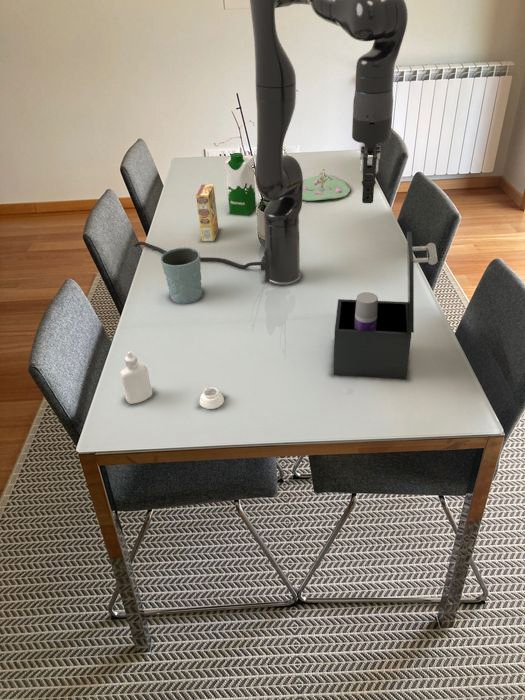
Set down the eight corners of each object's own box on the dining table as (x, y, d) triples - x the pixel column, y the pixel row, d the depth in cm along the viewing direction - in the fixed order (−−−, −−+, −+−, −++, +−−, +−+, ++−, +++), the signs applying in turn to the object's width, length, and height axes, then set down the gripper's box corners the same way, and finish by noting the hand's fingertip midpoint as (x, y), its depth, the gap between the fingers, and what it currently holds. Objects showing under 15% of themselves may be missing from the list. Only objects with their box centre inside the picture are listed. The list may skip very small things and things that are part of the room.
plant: (290, 178, 229) (289, 155, 223) (344, 175, 228) (345, 152, 223) (294, 204, 208) (294, 179, 203) (354, 201, 208) (355, 176, 203)
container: (372, 361, 133) (376, 304, 125) (351, 358, 135) (353, 301, 126) (375, 349, 137) (380, 293, 128) (355, 346, 138) (358, 290, 129)
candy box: (214, 241, 188) (209, 195, 179) (201, 241, 188) (195, 195, 179) (219, 229, 195) (214, 184, 186) (206, 229, 196) (201, 184, 187)
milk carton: (226, 214, 204) (221, 156, 193) (236, 204, 211) (231, 147, 199) (250, 217, 202) (246, 158, 190) (259, 206, 209) (256, 148, 197)
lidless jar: (228, 402, 126) (214, 391, 129) (227, 391, 124) (212, 380, 127) (209, 413, 123) (195, 402, 127) (208, 402, 122) (193, 391, 125)
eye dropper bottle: (127, 391, 131) (117, 347, 123) (153, 389, 131) (144, 345, 123) (125, 404, 127) (113, 359, 120) (151, 403, 127) (142, 358, 120)
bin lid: (409, 260, 113) (439, 259, 111) (407, 231, 123) (434, 230, 121) (409, 332, 122) (437, 332, 121) (407, 300, 132) (433, 299, 131)
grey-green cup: (211, 290, 164) (206, 250, 157) (192, 308, 157) (187, 268, 150) (179, 283, 168) (173, 244, 161) (160, 301, 160) (152, 261, 153)
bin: (333, 375, 132) (334, 330, 125) (336, 341, 142) (338, 299, 135) (406, 379, 129) (411, 334, 122) (404, 345, 139) (409, 302, 132)
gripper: (354, 104, 122) (351, 181, 131) (351, 124, 111) (348, 208, 120) (391, 103, 121) (386, 182, 130) (392, 124, 109) (386, 208, 119)
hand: (367, 194), depth 125 cm, fingers open, 8 cm apart
